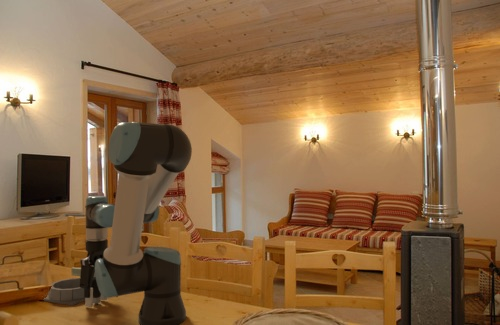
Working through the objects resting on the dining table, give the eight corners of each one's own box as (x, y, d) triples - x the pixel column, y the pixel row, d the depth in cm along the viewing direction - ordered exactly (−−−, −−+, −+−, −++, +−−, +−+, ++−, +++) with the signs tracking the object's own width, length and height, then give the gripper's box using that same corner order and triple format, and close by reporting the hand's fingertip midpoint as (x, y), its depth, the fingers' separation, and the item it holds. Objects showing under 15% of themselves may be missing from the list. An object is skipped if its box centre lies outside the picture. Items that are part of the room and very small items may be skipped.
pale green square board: (128, 269, 177) (128, 262, 177) (103, 279, 162) (103, 271, 162) (98, 266, 183) (98, 259, 183) (71, 275, 168) (71, 268, 168)
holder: (103, 292, 162) (103, 280, 162) (72, 305, 147) (72, 292, 147) (71, 288, 168) (71, 276, 168) (38, 300, 153) (38, 287, 153)
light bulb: (99, 307, 145) (99, 279, 145) (84, 306, 146) (84, 278, 146) (107, 302, 151) (107, 274, 151) (93, 301, 152) (93, 274, 152)
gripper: (106, 234, 159) (106, 293, 159) (67, 243, 140) (67, 310, 140) (122, 235, 156) (122, 295, 156) (85, 244, 138) (85, 313, 138)
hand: (96, 302), depth 148 cm, fingers open, 7 cm apart
